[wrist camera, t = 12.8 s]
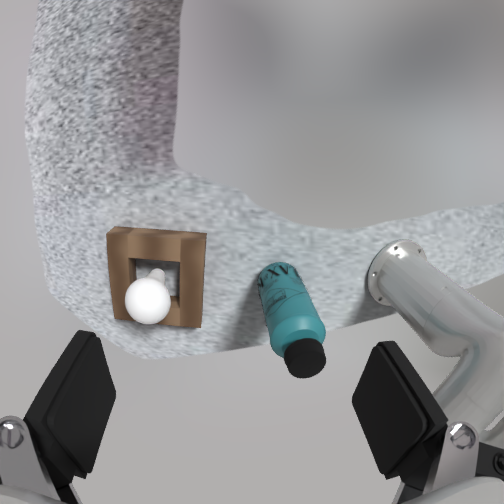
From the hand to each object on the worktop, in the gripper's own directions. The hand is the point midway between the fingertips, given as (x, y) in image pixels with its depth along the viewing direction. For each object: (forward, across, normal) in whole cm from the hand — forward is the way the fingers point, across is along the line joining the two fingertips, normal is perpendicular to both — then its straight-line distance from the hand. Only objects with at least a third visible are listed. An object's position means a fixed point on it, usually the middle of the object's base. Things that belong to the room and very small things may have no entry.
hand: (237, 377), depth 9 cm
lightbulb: (+33, +11, +12) cm, 37 cm away
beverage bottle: (+33, -7, +12) cm, 36 cm away
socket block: (+33, +11, +12) cm, 36 cm away
